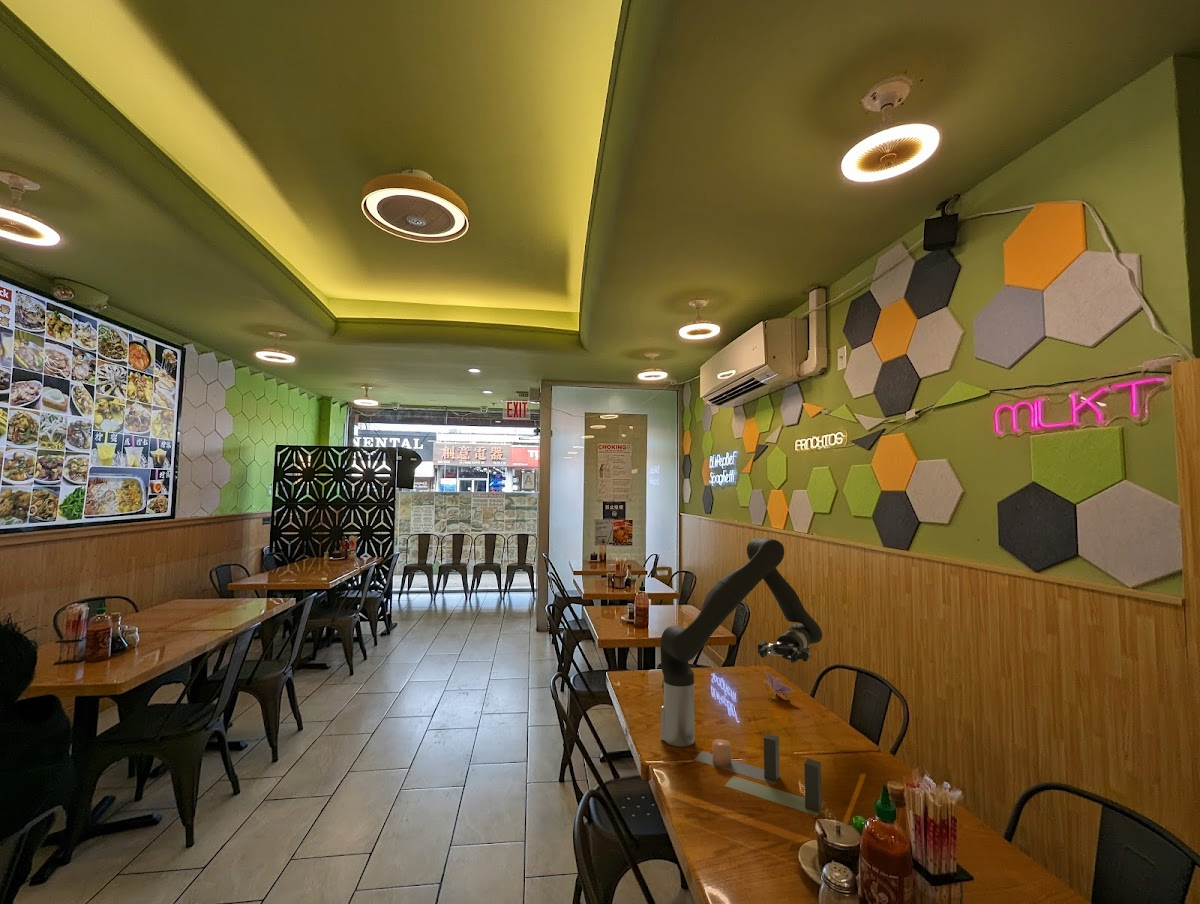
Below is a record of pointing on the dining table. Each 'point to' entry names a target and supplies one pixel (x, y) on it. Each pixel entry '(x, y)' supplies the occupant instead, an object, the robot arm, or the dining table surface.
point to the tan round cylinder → (721, 752)
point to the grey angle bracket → (807, 804)
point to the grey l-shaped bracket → (766, 774)
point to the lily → (777, 685)
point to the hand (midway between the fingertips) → (776, 656)
